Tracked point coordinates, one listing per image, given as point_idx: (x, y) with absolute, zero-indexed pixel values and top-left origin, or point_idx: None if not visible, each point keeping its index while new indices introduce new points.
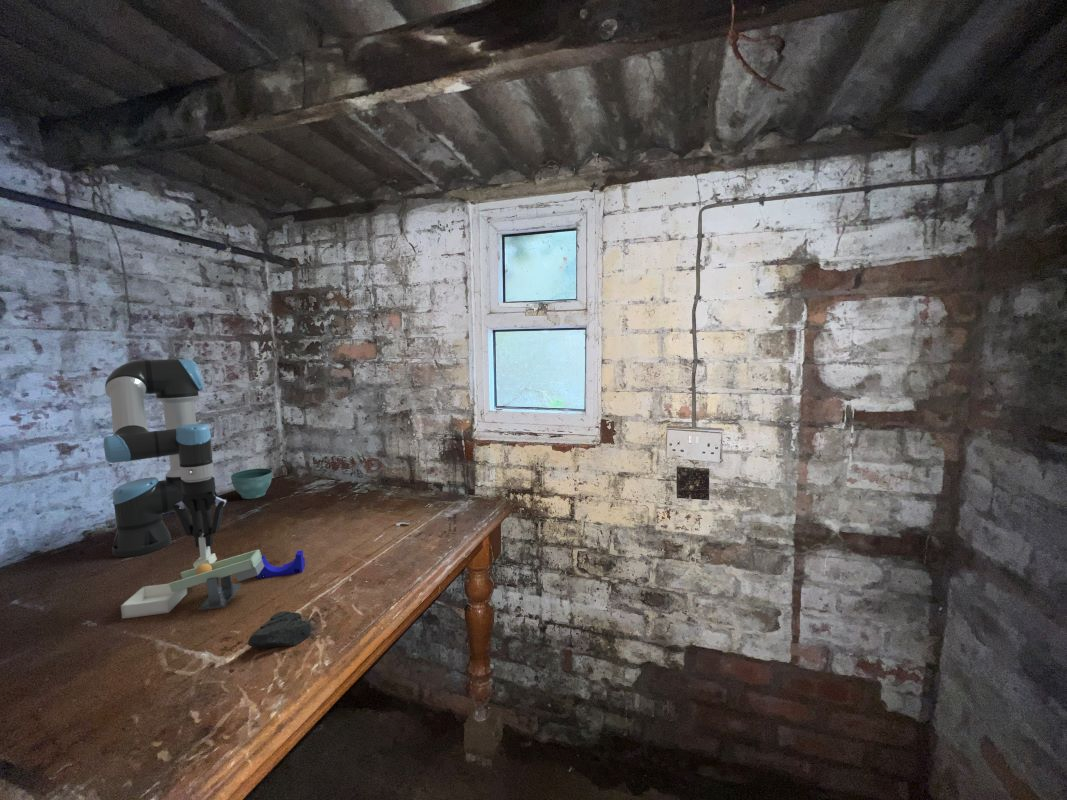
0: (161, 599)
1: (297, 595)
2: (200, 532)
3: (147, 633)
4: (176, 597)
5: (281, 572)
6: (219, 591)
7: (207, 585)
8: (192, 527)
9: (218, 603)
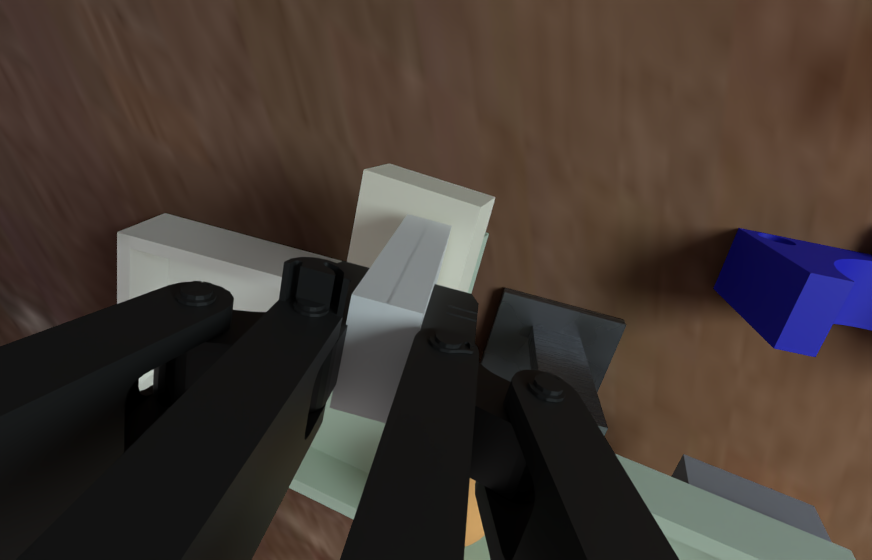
0: (257, 292)
1: (862, 554)
2: (324, 376)
3: (304, 515)
4: None
5: (865, 326)
6: (519, 360)
7: None
8: (164, 356)
9: None
